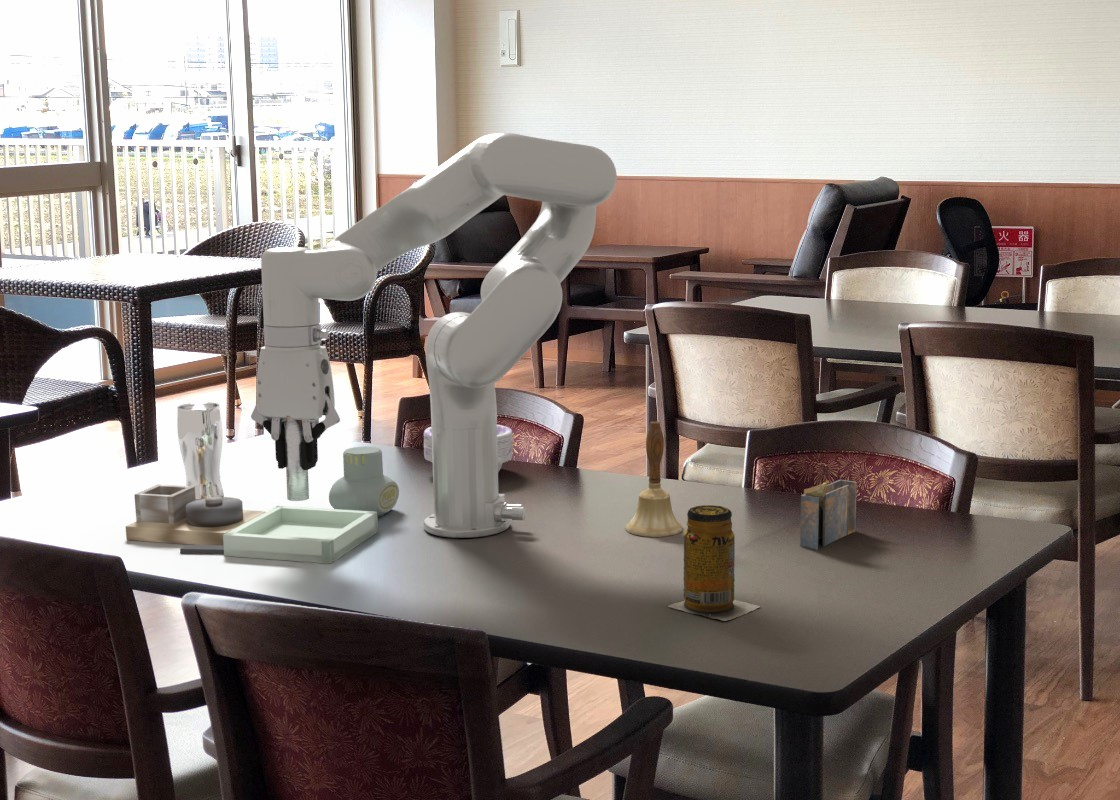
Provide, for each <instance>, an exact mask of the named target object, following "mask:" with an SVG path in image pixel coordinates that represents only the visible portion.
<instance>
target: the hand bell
mask: <svg viewBox="0 0 1120 800" xmlns="http://www.w3.org/2000/svg"><path fill="white" fill-rule="evenodd" d="M645 437H646V438H645V451H646V456H647V457H646V458H647V459H648V464H649V474H648V477H649V478H648V488H646V489H644V490H643V491H641V492H640V493H639V495H638V503H637V507H636V510H635V514H634V516H633V517H632V518H631V520H630V521H628V523H627V524H626V526H625V531H626V532H628V534H629V533H630V534H632V535H635V536H640V537H647V538H649V537H650V538H651V537H652V538H663V537H670V536H675V535H679V534H681V533H682V532H683V531H684V528H683V526H682V524H681V523H680V522H679V520H677V518H676V516H675V514H674V512H673V508H672V504H671V503H672V501H671V495H670V493H669V492H668V491H666V490H664V489H663V488H662V487H661V486H662V485H661V480H662V479H661V464H662V463H661V462H662V458H663V455H664V448H665V439H664V438H665V437H664V433H663V430H662V428H661V424H660V421H656V420H655V421H654V420H653V421H650V425H649V428H648V430H647V433H646V436H645Z"/></svg>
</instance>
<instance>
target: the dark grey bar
mask: <svg viewBox="0 0 1120 800" xmlns="http://www.w3.org/2000/svg"><path fill="white" fill-rule="evenodd" d="M179 552H180V554H205V555H206V554H211V555H213V554H214V555H215V554H219V555H222V554H223V555H224V545H193V544H184V545H183V546H182V547H181V548H179Z"/></svg>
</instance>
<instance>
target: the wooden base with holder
mask: <svg viewBox="0 0 1120 800" xmlns="http://www.w3.org/2000/svg"><path fill="white" fill-rule="evenodd" d="M134 507H135V519H136V520H135V522H132V523H130V524H128V525H126V526H125V535H126V541H141V542H153V543H166V544H179V545H180V544H181V545H224V544H223V535H224V534H225V533H227V532H229V531H231V530H233V529H235V528H237V527H239V526H240V525H242V524H244V523H246V522H248V521H250V520H252V519H253V518H255V517H257V516H259V515H261V514H263V513H265V512H267V511H264V510H249V509H247V510H246V509H244V507H243V500H241V499H240V498H237V497H236V498H235V497H230V496H228V497H227V496H226V497H225V496H222V497H209V498H205V499H200V500H196V498H195V487H193V486H186V485H173V484H172V485H171V484H156V485H153V486H151V487H149V488H146V489H144V490H142V491H140V492H137V493H134Z"/></svg>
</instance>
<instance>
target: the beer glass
mask: <svg viewBox="0 0 1120 800" xmlns="http://www.w3.org/2000/svg"><path fill="white" fill-rule="evenodd" d="M176 409H177V423H176V426H177V439H178V446H179V452H180V454H181V458H182V463H183V466H184V471H185V476H186V485H185V486H193V487H195V498H196V500H200V499H205V498H209V497H224V494H225V493H224V489H223V486H222V482H221V476H220V475H221V473H220V470H221V459H222V452H223V440H224V439H223V421H222V414H221V408H220V404H219V403H217V402H209V401H208V402H207V401H205V402H190V403H185V404H184V403H183V404H181V405H178V406H177V408H176Z"/></svg>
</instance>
